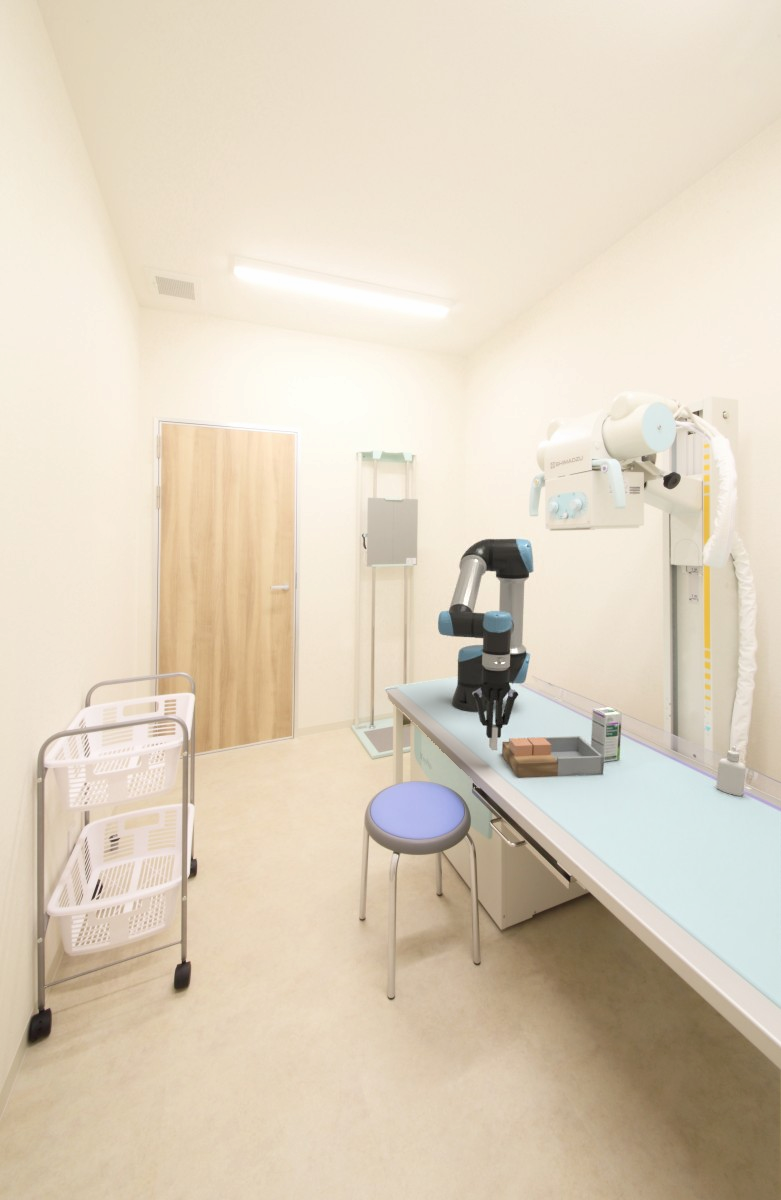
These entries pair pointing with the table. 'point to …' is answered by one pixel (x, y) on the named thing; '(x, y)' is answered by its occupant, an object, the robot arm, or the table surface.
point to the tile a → (520, 746)
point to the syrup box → (606, 732)
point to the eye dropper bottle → (731, 774)
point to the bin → (575, 756)
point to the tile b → (540, 746)
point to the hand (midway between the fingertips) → (493, 748)
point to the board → (530, 764)
